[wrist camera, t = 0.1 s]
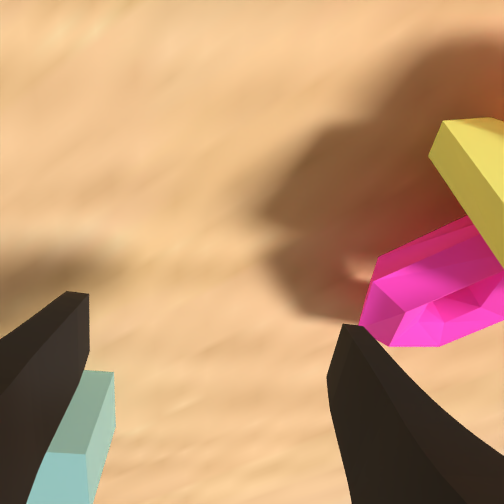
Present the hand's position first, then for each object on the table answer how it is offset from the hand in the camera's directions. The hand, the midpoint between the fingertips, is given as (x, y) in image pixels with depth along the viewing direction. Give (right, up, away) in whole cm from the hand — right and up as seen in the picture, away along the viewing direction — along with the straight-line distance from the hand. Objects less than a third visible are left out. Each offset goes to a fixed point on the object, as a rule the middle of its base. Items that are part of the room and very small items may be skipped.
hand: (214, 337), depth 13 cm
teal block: (-9, -6, +15) cm, 19 cm away
